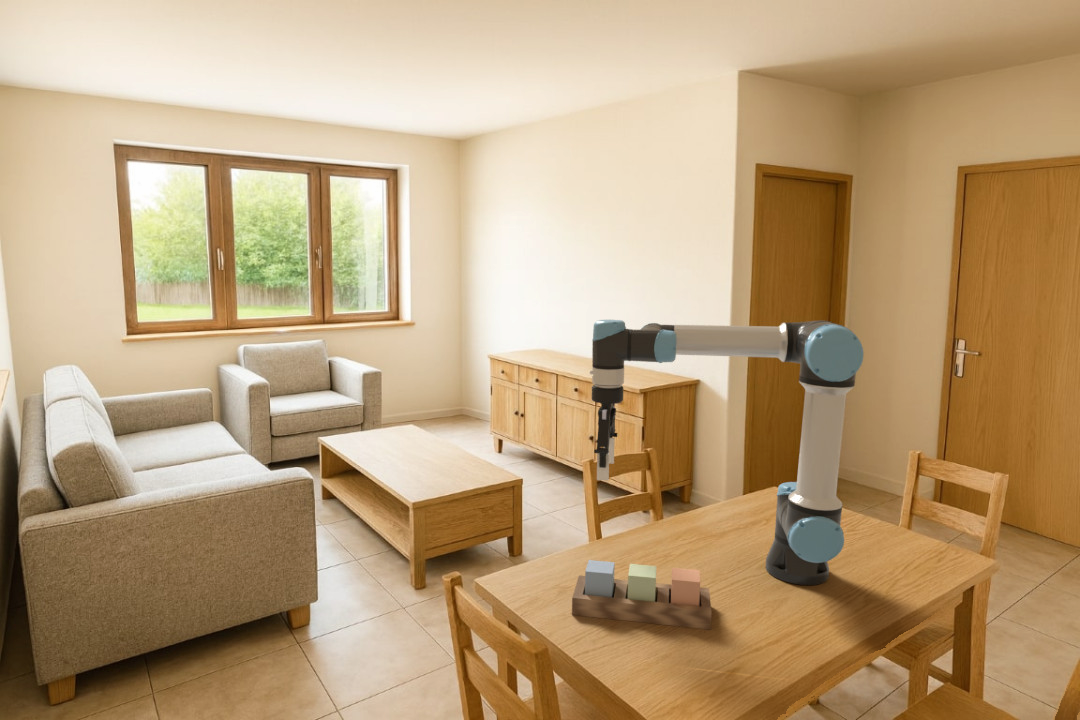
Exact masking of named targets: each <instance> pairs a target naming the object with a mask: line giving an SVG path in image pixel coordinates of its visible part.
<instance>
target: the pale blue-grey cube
mask: <svg viewBox="0 0 1080 720" xmlns="http://www.w3.org/2000/svg"><path fill="white" fill-rule="evenodd" d="M584 572H585V575H584V576H585V595H593V596H602V597H612V598H613V592H614V579H615V562H612V561H605V560H603V561H602V560H593V559H588V561H587V565H586V568H585V571H584Z"/></svg>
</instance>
